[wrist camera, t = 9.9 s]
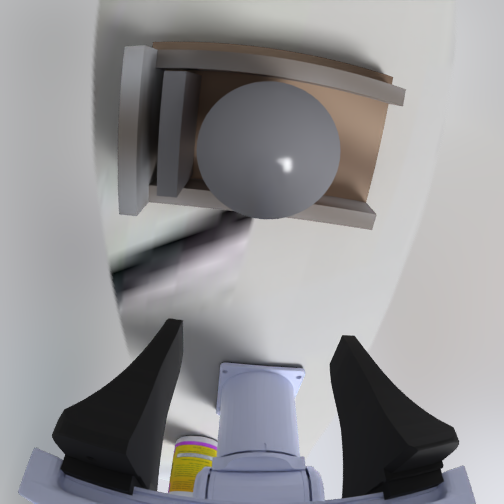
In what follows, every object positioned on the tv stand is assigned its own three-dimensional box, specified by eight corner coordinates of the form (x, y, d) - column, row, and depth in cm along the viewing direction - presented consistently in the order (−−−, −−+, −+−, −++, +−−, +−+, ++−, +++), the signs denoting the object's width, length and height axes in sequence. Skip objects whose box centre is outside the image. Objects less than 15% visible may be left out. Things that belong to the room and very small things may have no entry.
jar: (301, 187, 18) (320, 230, 13) (208, 170, 18) (188, 207, 13) (322, 97, 16) (355, 101, 10) (224, 77, 15) (208, 70, 10)
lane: (354, 220, 20) (379, 257, 16) (148, 195, 20) (120, 227, 15) (386, 77, 16) (425, 77, 11) (158, 44, 15) (126, 31, 10)
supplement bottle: (168, 433, 36) (154, 515, 25) (214, 433, 35) (207, 521, 24) (186, 452, 39) (177, 525, 28) (228, 452, 38) (224, 529, 27)
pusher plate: (192, 174, 18) (176, 197, 14) (175, 173, 18) (156, 195, 14) (201, 75, 15) (186, 71, 11) (184, 74, 15) (164, 70, 11)
